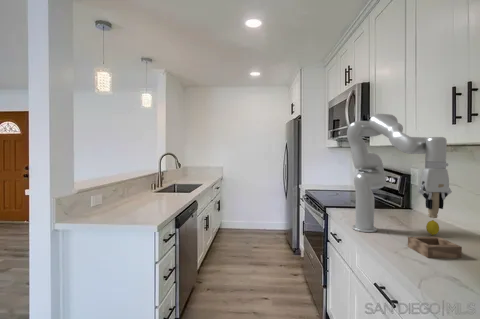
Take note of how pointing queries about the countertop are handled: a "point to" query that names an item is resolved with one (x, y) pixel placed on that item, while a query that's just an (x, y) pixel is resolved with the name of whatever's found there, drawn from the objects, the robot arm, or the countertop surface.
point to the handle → (434, 204)
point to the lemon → (432, 227)
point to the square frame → (435, 247)
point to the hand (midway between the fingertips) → (434, 207)
